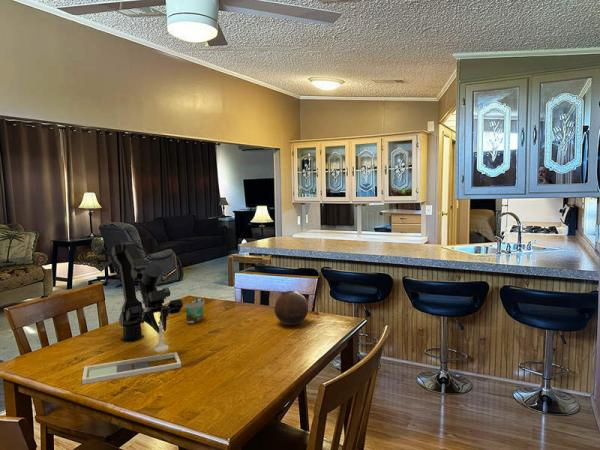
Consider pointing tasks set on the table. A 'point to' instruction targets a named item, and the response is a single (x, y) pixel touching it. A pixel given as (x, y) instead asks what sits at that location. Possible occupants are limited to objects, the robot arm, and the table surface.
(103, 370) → the pad
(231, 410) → the table surface
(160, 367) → the trap box
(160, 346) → the chess piece
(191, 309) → the food container
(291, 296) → the wooden sphere
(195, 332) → the table surface
